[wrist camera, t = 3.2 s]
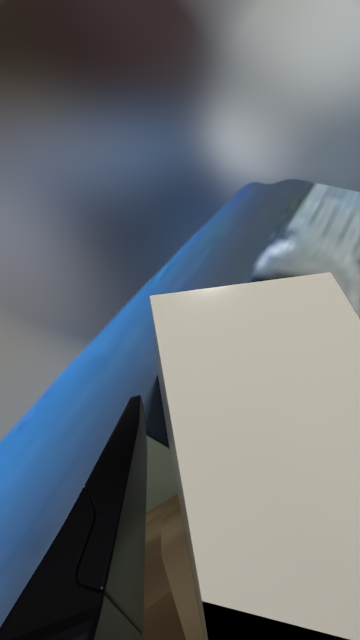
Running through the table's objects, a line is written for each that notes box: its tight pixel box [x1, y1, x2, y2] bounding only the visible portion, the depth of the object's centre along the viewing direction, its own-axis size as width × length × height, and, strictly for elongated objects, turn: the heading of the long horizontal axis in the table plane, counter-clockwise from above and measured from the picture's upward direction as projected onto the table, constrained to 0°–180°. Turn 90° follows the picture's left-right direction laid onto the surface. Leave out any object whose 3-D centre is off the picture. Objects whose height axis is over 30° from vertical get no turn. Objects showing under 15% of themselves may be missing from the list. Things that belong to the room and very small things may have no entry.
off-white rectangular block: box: [150, 272, 360, 640], centre depth 8 cm, size 6×4×12 cm, turn 12°
